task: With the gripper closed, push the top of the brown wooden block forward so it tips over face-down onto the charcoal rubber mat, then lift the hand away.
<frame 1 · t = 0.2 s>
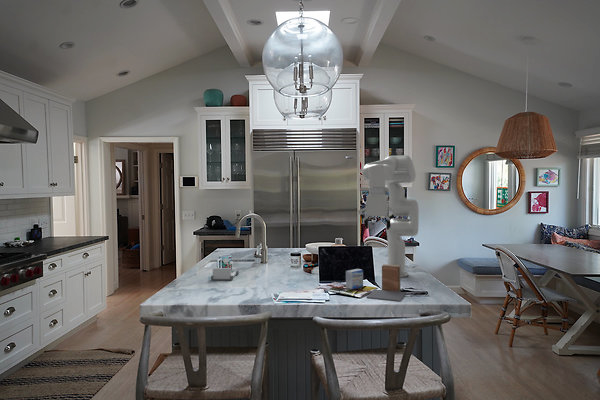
hand: (377, 228, 182), 31 cm above the kitchen island, tool pointing down, fingers open, 9 cm apart
grey desk organizer: (225, 278, 225), on the kitchen island
medicine box: (354, 287, 198), on the kitchen island
brown wooden block: (391, 290, 192), on the kitchen island
charcoal mat: (386, 295, 183), on the kitchen island
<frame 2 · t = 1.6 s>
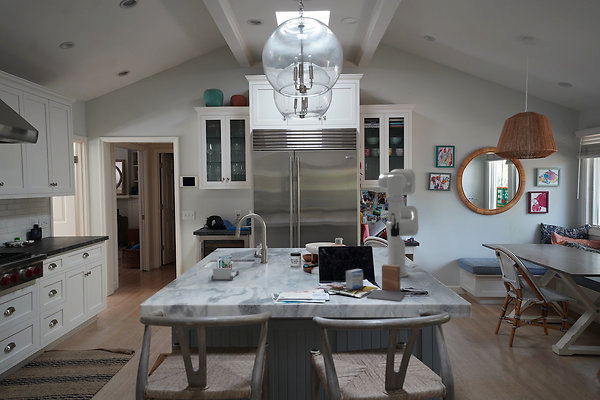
hand: (395, 235, 200), 25 cm above the kitchen island, tool pointing down, fingers open, 4 cm apart
nothing on the kitchen island moved.
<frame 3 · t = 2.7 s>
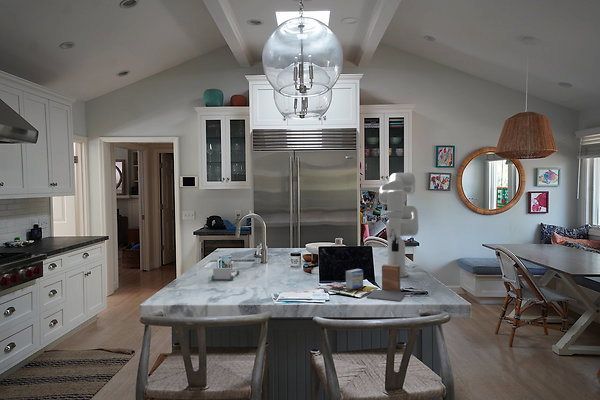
hand: (395, 251, 200), 17 cm above the kitchen island, tool pointing down, fingers closed
nothing on the kitchen island moved.
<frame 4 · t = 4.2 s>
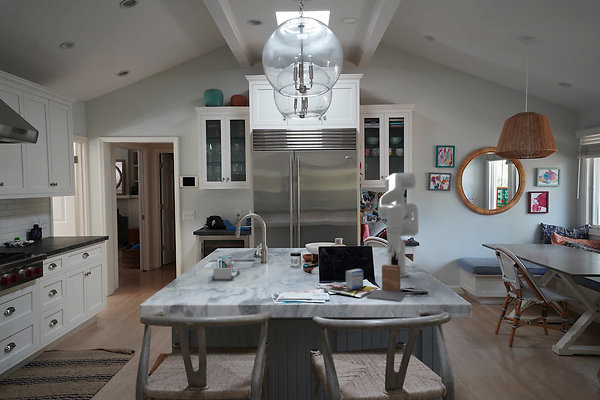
hand: (394, 266, 199), 10 cm above the kitchen island, tool pointing down, fingers closed
nothing on the kitchen island moved.
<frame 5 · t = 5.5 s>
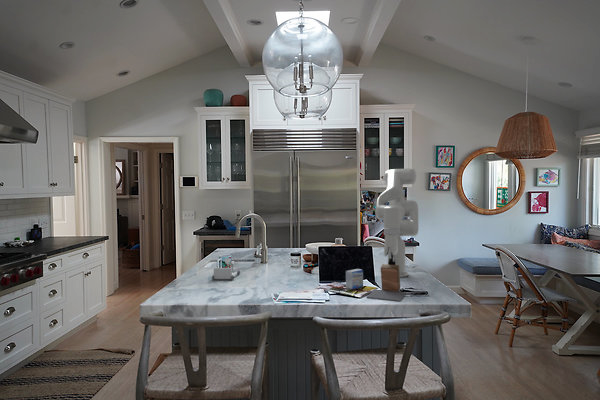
hand: (391, 269, 193), 10 cm above the kitchen island, tool pointing down, fingers closed
brown wooden block: (391, 289, 192), on the kitchen island, tilted 12°
everything else where it was.
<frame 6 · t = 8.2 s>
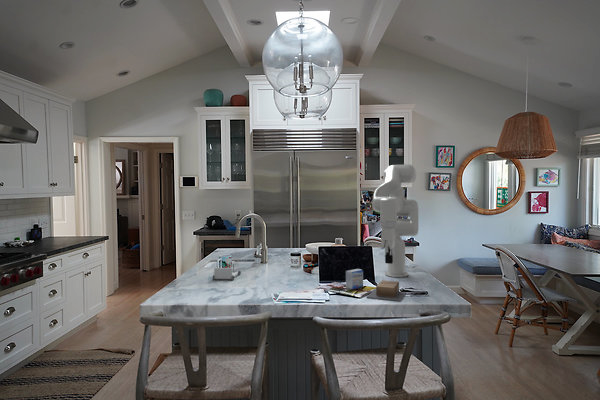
hand: (389, 263, 187), 14 cm above the kitchen island, tool pointing down, fingers closed
brown wooden block: (390, 285, 190), point 3 cm above the kitchen island, tilted 90°, touching charcoal mat
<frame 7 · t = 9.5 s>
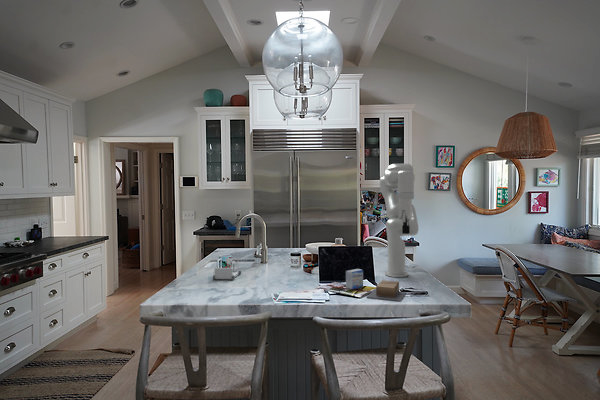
hand: (405, 233, 194), 27 cm above the kitchen island, tool pointing down, fingers closed
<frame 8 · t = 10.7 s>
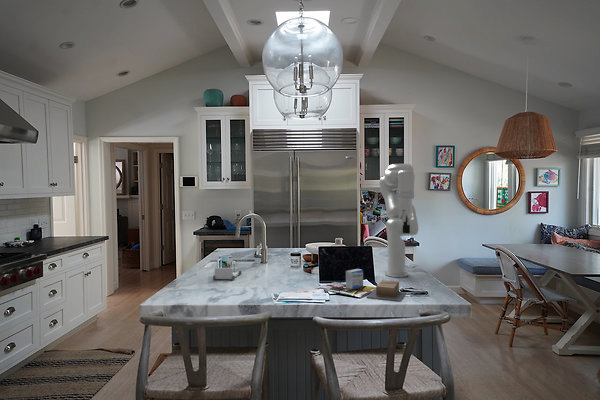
hand: (406, 233, 194), 27 cm above the kitchen island, tool pointing down, fingers closed
at the end: brown wooden block tilted 90°; brown wooden block touching charcoal mat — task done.
